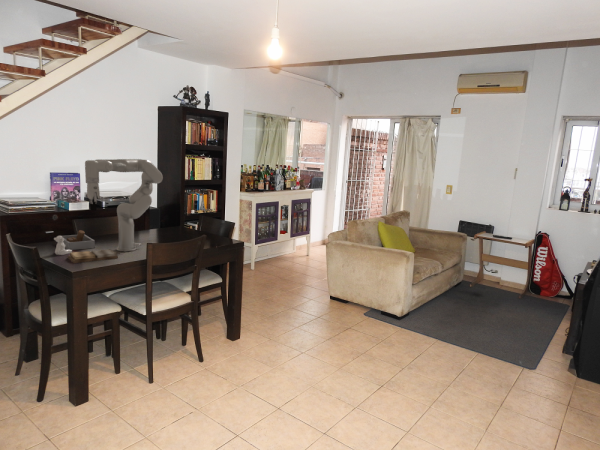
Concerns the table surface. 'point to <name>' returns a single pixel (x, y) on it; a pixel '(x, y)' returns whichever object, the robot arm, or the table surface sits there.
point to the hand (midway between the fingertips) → (93, 210)
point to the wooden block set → (79, 237)
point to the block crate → (79, 243)
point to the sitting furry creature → (61, 246)
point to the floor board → (97, 256)
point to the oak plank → (82, 255)
